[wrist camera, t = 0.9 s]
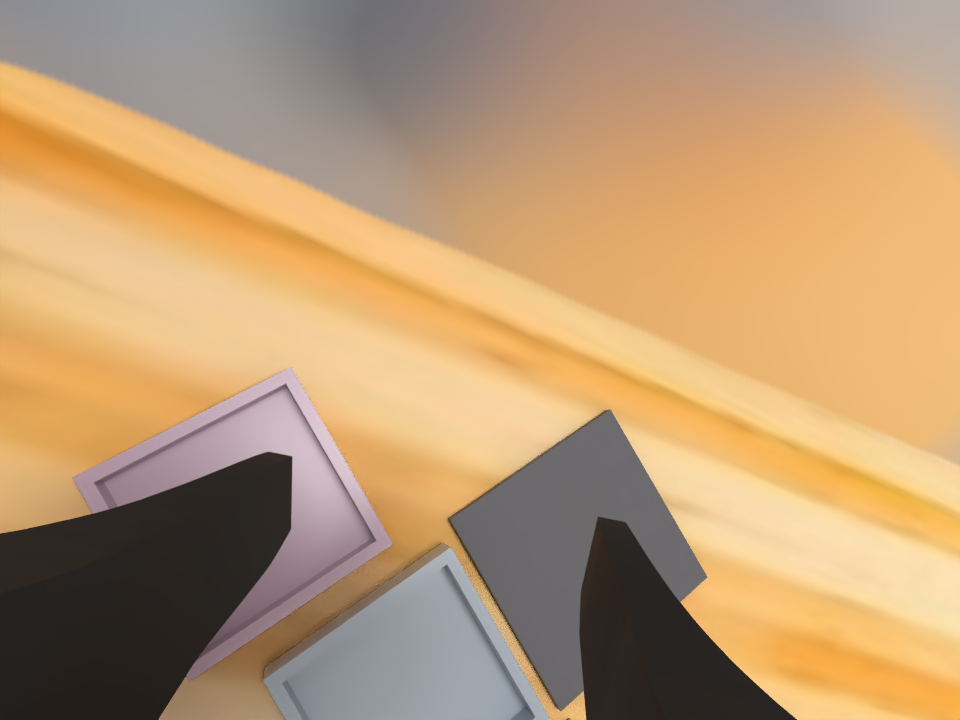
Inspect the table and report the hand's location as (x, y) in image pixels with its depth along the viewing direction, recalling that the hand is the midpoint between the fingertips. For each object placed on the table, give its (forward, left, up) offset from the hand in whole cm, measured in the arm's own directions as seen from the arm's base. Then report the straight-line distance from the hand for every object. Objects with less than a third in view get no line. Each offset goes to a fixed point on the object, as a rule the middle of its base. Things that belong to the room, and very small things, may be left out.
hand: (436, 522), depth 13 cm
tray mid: (-3, -8, -13) cm, 15 cm away
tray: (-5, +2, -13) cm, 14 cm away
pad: (+7, -8, -13) cm, 17 cm away
